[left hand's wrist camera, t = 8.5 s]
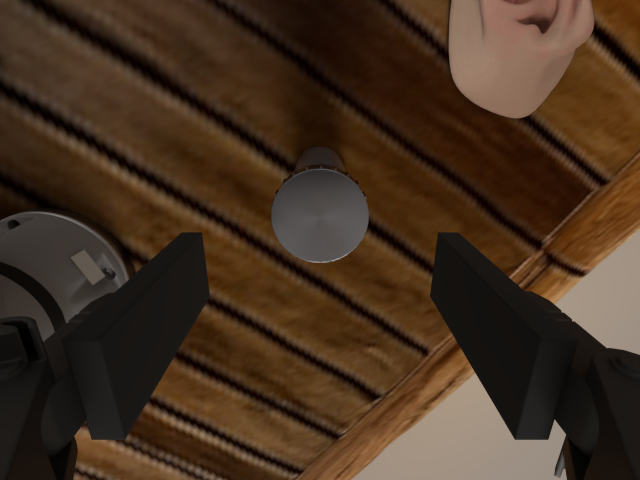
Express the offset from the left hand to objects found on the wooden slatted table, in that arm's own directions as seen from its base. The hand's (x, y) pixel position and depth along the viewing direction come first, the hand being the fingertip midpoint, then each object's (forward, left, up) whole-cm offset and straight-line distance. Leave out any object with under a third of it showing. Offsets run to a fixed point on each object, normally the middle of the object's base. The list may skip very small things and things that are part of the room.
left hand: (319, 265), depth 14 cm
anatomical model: (+8, +19, -22) cm, 30 cm away
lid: (0, 0, -7) cm, 7 cm away
